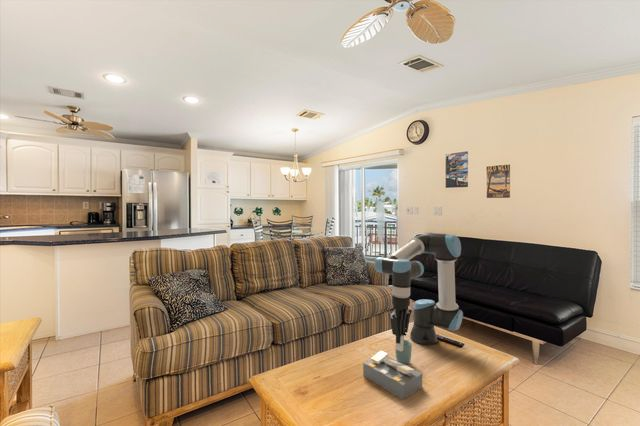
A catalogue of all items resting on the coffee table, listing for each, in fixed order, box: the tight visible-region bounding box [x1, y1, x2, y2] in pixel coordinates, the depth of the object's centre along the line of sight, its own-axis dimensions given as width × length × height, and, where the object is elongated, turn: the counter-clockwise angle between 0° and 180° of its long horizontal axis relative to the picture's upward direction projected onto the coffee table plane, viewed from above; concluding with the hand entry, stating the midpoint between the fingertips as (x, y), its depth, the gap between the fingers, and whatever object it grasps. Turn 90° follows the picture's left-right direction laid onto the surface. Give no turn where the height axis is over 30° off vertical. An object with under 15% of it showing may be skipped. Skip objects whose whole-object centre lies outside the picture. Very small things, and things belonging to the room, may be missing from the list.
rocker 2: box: [385, 359, 401, 367], centre depth 139 cm, size 7×4×2 cm, turn 129°
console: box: [362, 356, 423, 400], centre depth 138 cm, size 14×22×7 cm, turn 39°
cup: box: [395, 339, 413, 365], centre depth 155 cm, size 8×8×10 cm
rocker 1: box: [370, 350, 389, 364], centre depth 143 cm, size 7×4×2 cm, turn 128°
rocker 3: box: [397, 365, 415, 374], centre depth 133 cm, size 7×4×2 cm, turn 129°
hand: (399, 349), depth 132 cm, fingers closed
